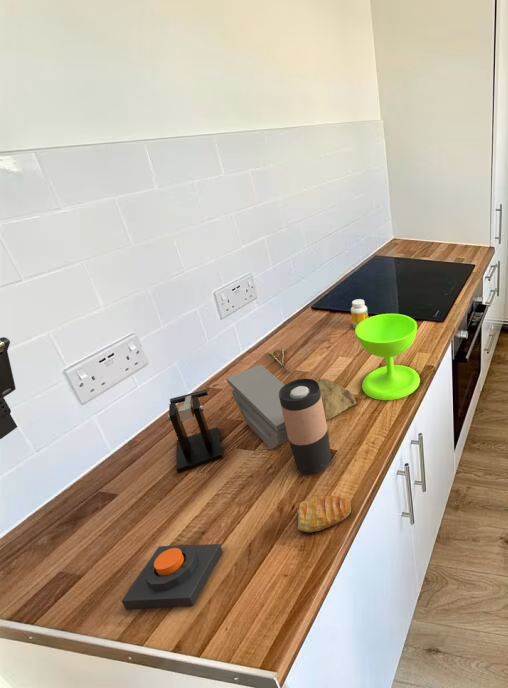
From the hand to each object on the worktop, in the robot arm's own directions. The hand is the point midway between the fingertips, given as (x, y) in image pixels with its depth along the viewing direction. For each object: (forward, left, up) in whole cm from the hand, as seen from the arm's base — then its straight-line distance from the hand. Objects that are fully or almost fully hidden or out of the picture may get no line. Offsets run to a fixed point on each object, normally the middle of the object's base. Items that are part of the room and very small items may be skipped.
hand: (4, 432), depth 67 cm
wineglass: (+50, +45, -24) cm, 72 cm away
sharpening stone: (+26, +27, -24) cm, 45 cm away
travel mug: (+38, +16, -24) cm, 48 cm away
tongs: (+16, +56, -24) cm, 63 cm away
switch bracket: (+12, +20, -24) cm, 34 cm away
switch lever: (+10, +24, -16) cm, 30 cm away
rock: (+38, +33, -24) cm, 56 cm away
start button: (+24, -9, -21) cm, 33 cm away
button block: (+24, -9, -24) cm, 35 cm away
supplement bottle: (+34, +78, -24) cm, 89 cm away
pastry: (+44, +2, -24) cm, 50 cm away
